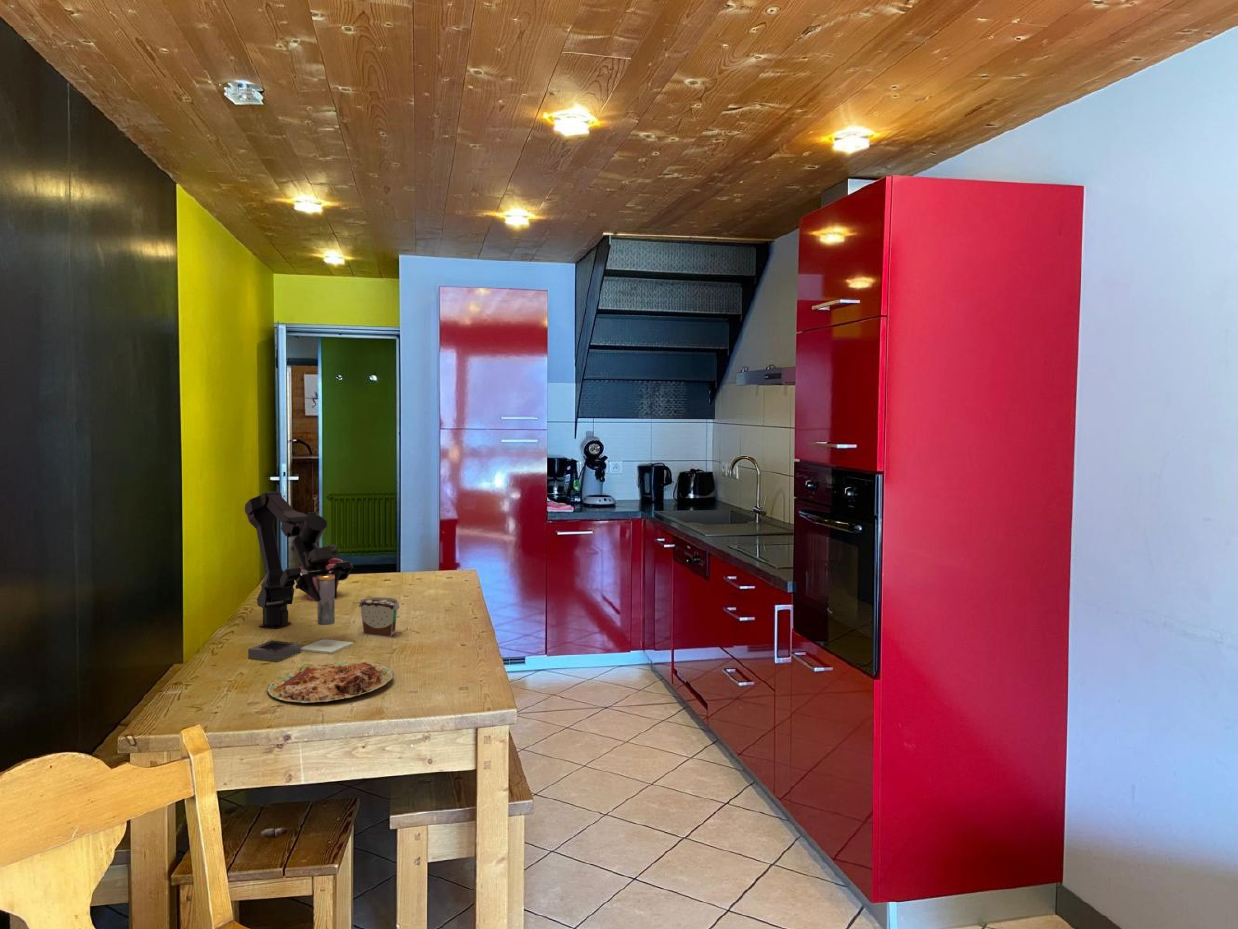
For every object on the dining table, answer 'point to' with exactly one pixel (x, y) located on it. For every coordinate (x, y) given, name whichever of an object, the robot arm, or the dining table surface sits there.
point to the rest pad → (327, 646)
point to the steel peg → (326, 599)
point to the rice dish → (329, 681)
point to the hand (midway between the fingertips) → (327, 599)
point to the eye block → (274, 650)
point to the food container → (379, 616)
